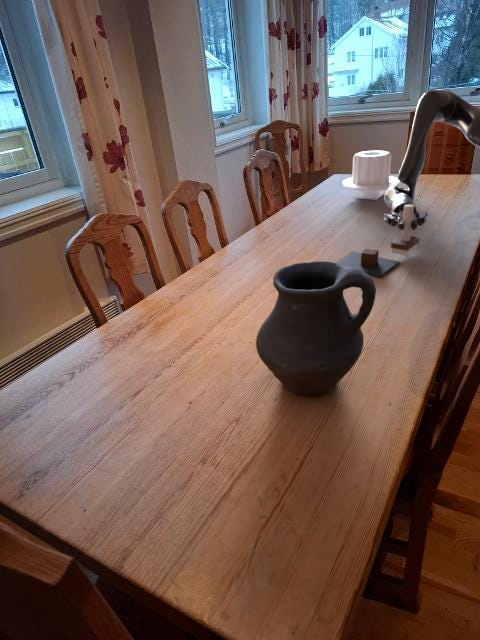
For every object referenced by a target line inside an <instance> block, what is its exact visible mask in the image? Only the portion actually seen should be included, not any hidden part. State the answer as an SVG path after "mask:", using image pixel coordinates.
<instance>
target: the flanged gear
mask: <svg viewBox="0 0 480 640" xmlns="http://www.w3.org/2000/svg"><path fill="white" fill-rule="evenodd" d="M391 165H392V153H391V151H386V150H365V151H360V152H357V153H354V155H353V156H352V177H348V178H346V179H344V180H343V181H342V187H343V188H344V189H347V190H352V191H355V198H356V199H361V200H362V199H363V200H374V201H375V200H378V199H379V198H381V197H382V196H383V195H384V194H385V193H384V191H387V189H388V188H390V187H392V186H397V187H399V186H400V181H399V180H398V177H395V176H391Z"/></svg>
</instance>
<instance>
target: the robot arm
mask: <svg viewBox="0 0 480 640" xmlns="http://www.w3.org/2000/svg"><path fill="white" fill-rule="evenodd" d="M433 123H444V124H447V125H450V126H453V127H455V128H457V129H458V130H460V131H461V132H462V134H463V135H464V137H465V139H466V140H467V141H468V142H469V143H470V144H472V145H473V146H475V147H477V148H479V149H480V107H479V106H475V105H473V104H471V103H470V102H468V101H466V100H465V99H463V98H462V97H461V96H459V95H458V94H456V93H455V92H453V91H451V90H447V89H445V90H444V89H430V90H427V91H426V92H424V93H423V94H422V96H421V97H420V98H419V100H418V103H417V107H416V111H415V114H414V118H413V122H412V128H411V131H410V136H409V140H408V145H407V149H406V152H405V155H404V159H403V161H402V162H401V166H400V168H399V171H398V174H397V178H398V180H399V183H402V184H404V185H406V186H407V188H406V187H401V186H392V187H390V188H388V189H386V190H385V193H384V204H385V205H386V206H387V207H388V208H389V209H390V213H391V214H389V213H384V216H383V222H384V223H385V224H387V225H389V226H390V227H397V229H399V230H400V231H402V230H403V225H404V223H403V213H404V205H407V204H411V205H414V211H413V220H412V229H411V231H415V230H416V229H417V228H418V227H421V226H423V225H424V224H425V223H426V222H427V221H428V212H423V213H419V212H418V211H417V208H416V205H415V198H416V189H417V184H418V180H419V178H420V175H421V173H422V171H423V168H424V165H425V162H426V159H427V158H426V156H427V150H426V149H427V148H426V145H427V143H426V142H427V136H428V133H429V130H430V128H431V126H432V125H433Z"/></svg>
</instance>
